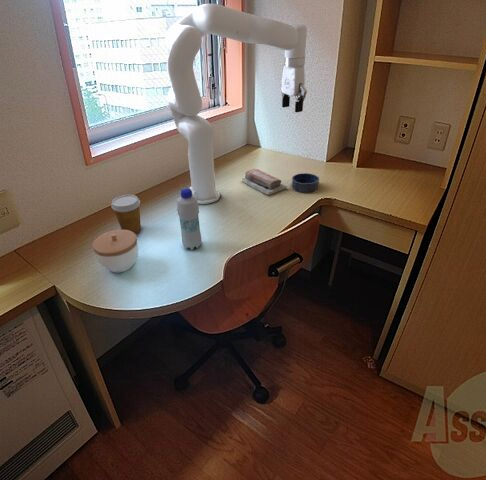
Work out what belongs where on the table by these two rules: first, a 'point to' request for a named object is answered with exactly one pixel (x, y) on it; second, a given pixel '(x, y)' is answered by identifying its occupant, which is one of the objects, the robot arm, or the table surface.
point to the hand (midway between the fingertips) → (292, 109)
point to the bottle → (189, 219)
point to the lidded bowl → (116, 250)
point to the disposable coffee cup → (127, 212)
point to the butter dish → (263, 181)
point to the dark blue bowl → (305, 182)
